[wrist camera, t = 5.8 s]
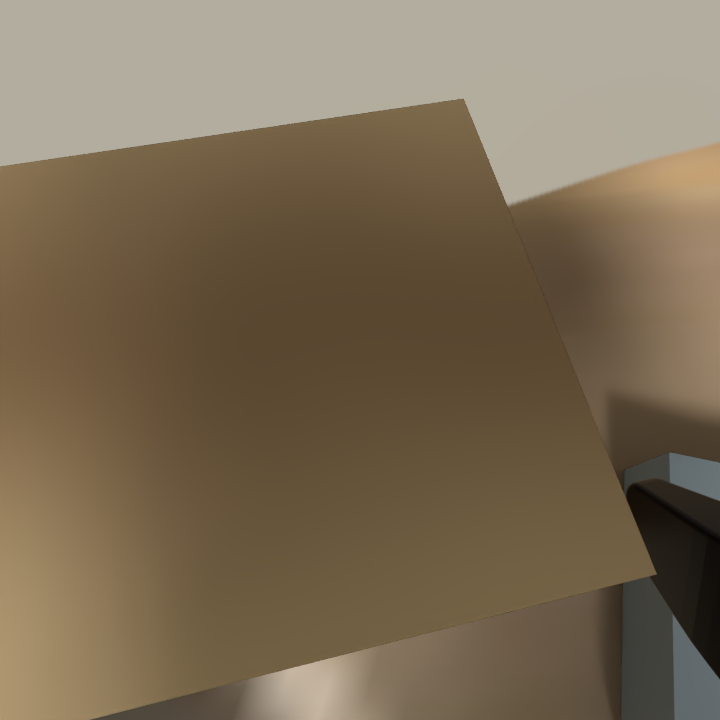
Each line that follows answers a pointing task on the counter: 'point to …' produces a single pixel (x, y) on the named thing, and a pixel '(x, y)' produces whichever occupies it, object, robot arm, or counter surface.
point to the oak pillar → (278, 411)
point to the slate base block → (665, 623)
